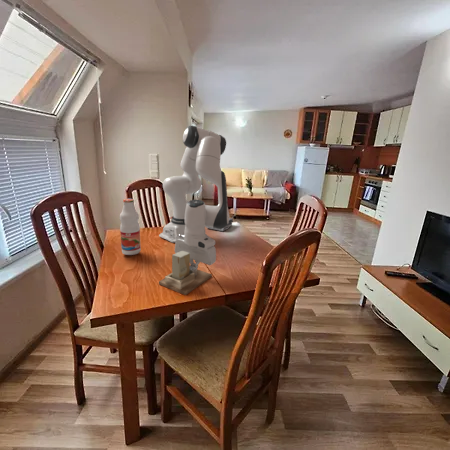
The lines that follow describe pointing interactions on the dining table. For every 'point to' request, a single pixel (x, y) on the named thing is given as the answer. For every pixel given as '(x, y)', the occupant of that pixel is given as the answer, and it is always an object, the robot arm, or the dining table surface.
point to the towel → (224, 227)
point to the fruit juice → (129, 228)
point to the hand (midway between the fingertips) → (194, 267)
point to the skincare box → (180, 265)
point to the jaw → (192, 270)
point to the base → (185, 282)
